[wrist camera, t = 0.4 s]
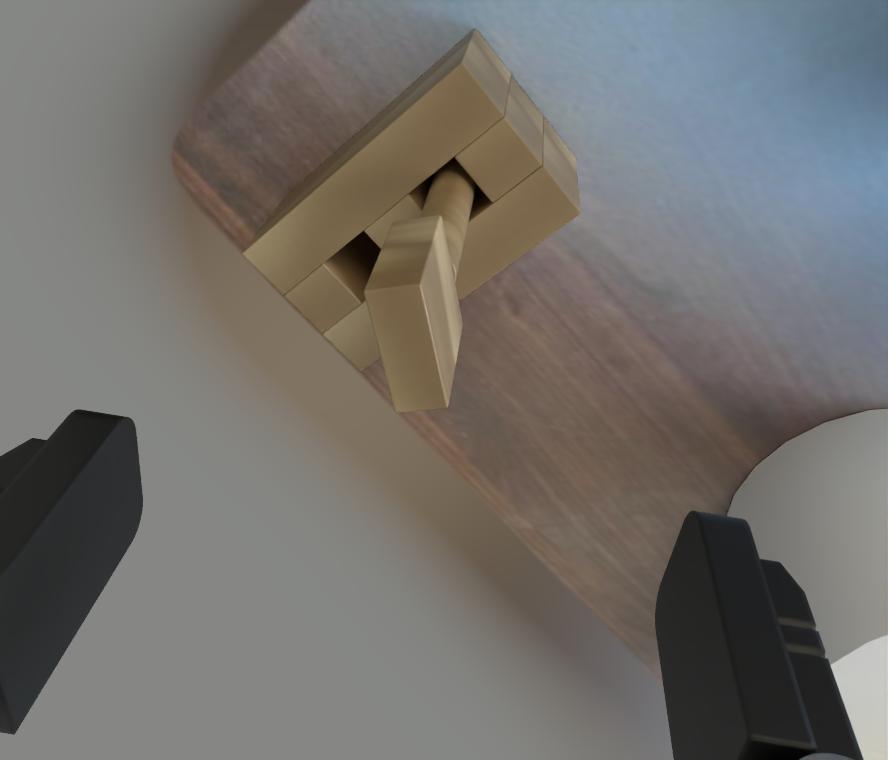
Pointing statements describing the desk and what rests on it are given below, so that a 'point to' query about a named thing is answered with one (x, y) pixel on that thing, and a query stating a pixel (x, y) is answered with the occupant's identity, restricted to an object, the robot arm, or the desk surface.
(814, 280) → the desk surface
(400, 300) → the wooden paddle
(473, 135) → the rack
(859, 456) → the cylinder
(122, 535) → the robot arm
